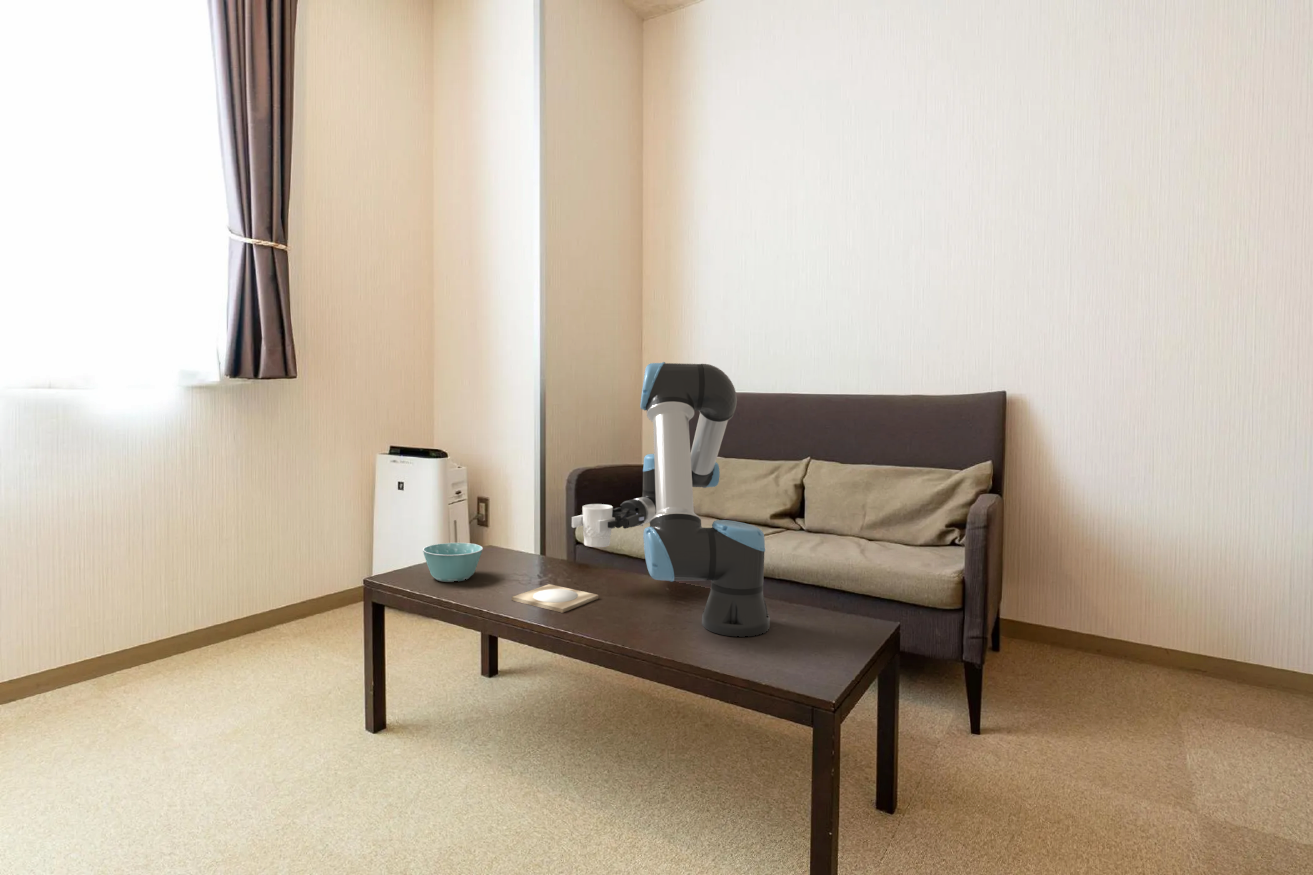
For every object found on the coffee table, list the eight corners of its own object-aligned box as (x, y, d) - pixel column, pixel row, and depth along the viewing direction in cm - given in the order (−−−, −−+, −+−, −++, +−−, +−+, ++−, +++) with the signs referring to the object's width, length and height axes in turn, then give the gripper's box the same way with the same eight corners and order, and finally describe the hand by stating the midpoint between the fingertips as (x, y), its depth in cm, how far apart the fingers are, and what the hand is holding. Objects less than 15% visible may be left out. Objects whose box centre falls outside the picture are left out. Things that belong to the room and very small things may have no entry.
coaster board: (598, 598, 178) (598, 594, 178) (562, 612, 166) (562, 608, 166) (549, 587, 186) (549, 583, 186) (511, 600, 174) (511, 596, 174)
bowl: (450, 567, 204) (450, 539, 203) (494, 575, 197) (494, 546, 196) (409, 580, 190) (409, 549, 189) (455, 589, 183) (455, 557, 182)
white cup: (614, 542, 188) (615, 504, 188) (609, 548, 181) (609, 509, 180) (585, 540, 189) (586, 503, 189) (578, 547, 182) (579, 508, 181)
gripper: (666, 530, 194) (617, 544, 175) (606, 520, 205) (554, 533, 186) (667, 502, 194) (618, 514, 175) (607, 495, 205) (554, 505, 186)
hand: (585, 524), depth 180 cm, fingers closed on white cup, 8 cm apart
